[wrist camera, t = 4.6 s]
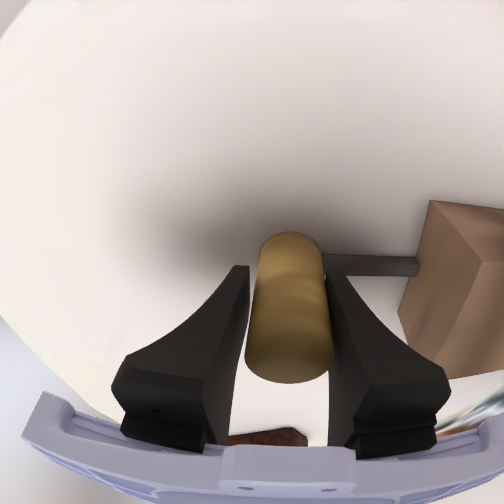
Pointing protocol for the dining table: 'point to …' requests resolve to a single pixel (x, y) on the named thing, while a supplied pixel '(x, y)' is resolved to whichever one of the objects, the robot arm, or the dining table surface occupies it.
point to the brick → (270, 438)
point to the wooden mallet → (412, 306)
